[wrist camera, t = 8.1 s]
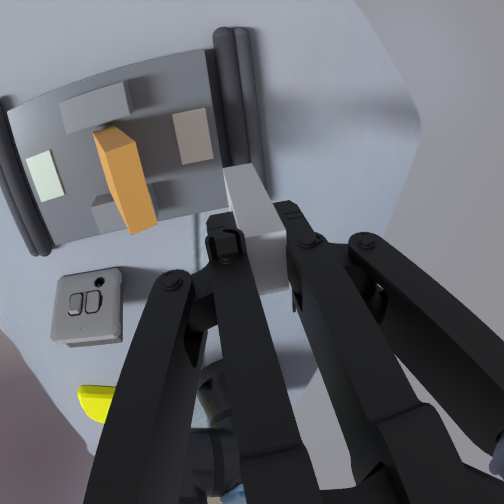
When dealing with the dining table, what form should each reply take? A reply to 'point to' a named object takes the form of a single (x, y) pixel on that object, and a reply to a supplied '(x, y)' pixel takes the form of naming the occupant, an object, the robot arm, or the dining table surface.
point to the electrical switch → (88, 309)
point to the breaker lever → (125, 177)
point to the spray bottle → (96, 401)
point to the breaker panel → (133, 125)
